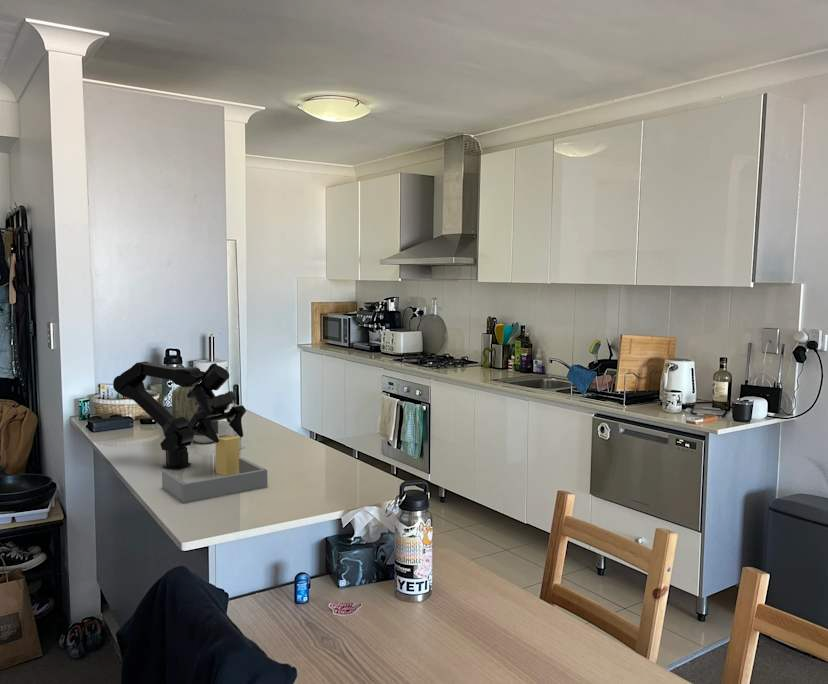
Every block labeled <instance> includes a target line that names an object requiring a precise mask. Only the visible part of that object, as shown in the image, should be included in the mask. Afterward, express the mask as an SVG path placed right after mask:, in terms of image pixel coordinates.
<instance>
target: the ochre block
mask: <svg viewBox="0 0 828 684" xmlns="http://www.w3.org/2000/svg"><path fill="white" fill-rule="evenodd" d="M218 439H219V442H218V443H216V442H215V474H218V475H222V476H229V475H234V474H239V458H240V449H239V437H235V436H231V435H227V436H222V437H219V436H218Z"/></svg>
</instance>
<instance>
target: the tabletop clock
mask: <svg viewBox="0 0 828 684" xmlns="http://www.w3.org/2000/svg"><path fill="white" fill-rule="evenodd" d="M194 386H195V385H193V386H188V387H182V386H178V387H176V388H175V389H173V390H172V392H171V415H172V416H173V417H175V418H180V417H184V418H185V419H186V420H187V421H188V422H189V421H190V419H191V418H192V416H193V415H194V414H195V411H196V409H197V407H198V403H197V401H196V400H195V398H187V394H188V392H189V389H192V388H193V387H194Z"/></svg>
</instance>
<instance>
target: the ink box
mask: <svg viewBox="0 0 828 684" xmlns="http://www.w3.org/2000/svg"><path fill="white" fill-rule="evenodd" d="M229 424H230V423H229V422H228V421H227V420H226V419H223V420H218V434H219V435H218V437H222V436H227V435H231V436H235V437H239V450H241V449H242V437H240V436H239V435H238V434H237V433H236V432H235V431H234V430H233V429H232V428H231V426H230V425H229Z"/></svg>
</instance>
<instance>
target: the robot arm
mask: <svg viewBox="0 0 828 684" xmlns="http://www.w3.org/2000/svg"><path fill="white" fill-rule="evenodd" d="M208 366H209V367H208V368H207V369H206V371H202V370H201V369H200V368H199V367H197V366H192V367H191V366H186V367H185V366H184V367H175V366H168V365H163V364H158V363H153V362H149V361H147V360H146V361H145V360H144V361H139V362H136V363H135V364H133V365H132V366H131V367H130V368H128V369H126V370H125V371H124V372H122V373H121V374H119V375H117V376H115V377H114V378H113V382H112V385H113V387H112V388H113V390H114V391H115V393H117V394H119V395H121V396H122V397H124V398H128V399H130V400H132V401H134V403H136V404H137V405H138V406H139V407H140V408H141V409H142V410H143V412H145V413H146V414H147V415H148V416H149V417H150V418H151V419H153V421H155V422H156V423H157V425H159V426H160V427H161V428H162V431H163V436H164V437H165V438H164V439H163V440H162V441H161V442H160V444H159V445H160V448H161V450H162V451H165V464H163V465H162V468H164V469H173V470H180V469H183V468H186V467H188V466H192V463H191V462H189V451H188V446H191V445H192V441H193V440H194V431H195V432H196V433H197V432H198V433H200V434H202V435H204V436H206V437H208V438H209V439H211V440H213V443H215V444H216V443H218V442H219V439H218V437H219V436H218V437H217V435H216V433H215V431H214V430H213V428H212V426H211V422H212V421H219V420H223V419H226V420H227V421H228V422H229V423H230V424H229V425H230V426H231V428H232V429H233V430H234V431H235V432H236V433H237V434H238V435H239V436H240V437H241V438H243V437H244V431H243V426H242V418H243V417H244V416H245V414H246V412H247V409H246V408H245V406H244V405H240V404H239V405H234V406H232V407H230V409H229V407H228V406H230V405H231V404H234V402H235V401H236V400H237V396H236V394H235V393H234V392H233V390H230V391H227V392H225V393H222V394H218V395H215V393H214V391H218V390H219V389H220V388H221V387H222V386H223V385H224V384H225V383H226V382H227V381H228V379H229V378H230V373H229V371H228V370H227V369H225V368H224V367H222V366H220V365H218V363H216V362H214V363H211V364H210V365H208ZM147 376H148V377H151V378H152V377H153V378H159V379H162V380H168V381H171V382H173V383H174V384H175V385H177V386H178V387H180V386H182V387H188V386H193V385H195V386H194V387H193V388H192V389H189V392H188V394H187V398H195V400H196V401H197V403H198V405H199V406H200V407H199V409H198V410H199V412H201V411H203V412H201V413H195V414H194V415H193V416H192V418H191V419H190V421H189V422H188V421H187V420H186V419H185V418H184V417H180V418H175V417H173V416H172V413H170V411H168V410H167V409H166V408H165V407H164V406H163V405H162V404H161V403H160V402H159V401H158V400H157V399H156V398H154V397H153V396H152V394H150V393H149V392H148V391H147V390H146V387H145V384H144V381H145V380H146V378H147ZM227 409H229V411H227V412H226V410H227Z"/></svg>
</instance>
